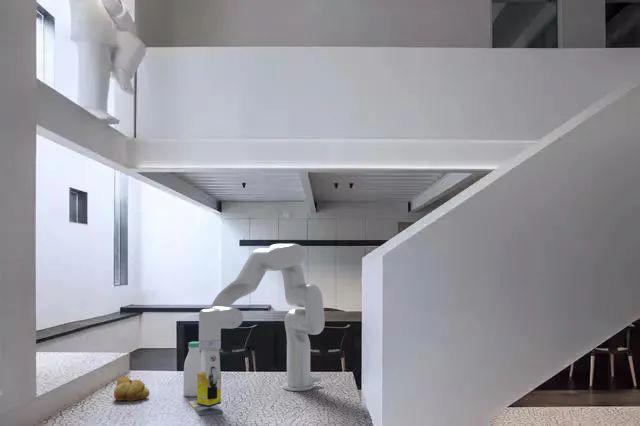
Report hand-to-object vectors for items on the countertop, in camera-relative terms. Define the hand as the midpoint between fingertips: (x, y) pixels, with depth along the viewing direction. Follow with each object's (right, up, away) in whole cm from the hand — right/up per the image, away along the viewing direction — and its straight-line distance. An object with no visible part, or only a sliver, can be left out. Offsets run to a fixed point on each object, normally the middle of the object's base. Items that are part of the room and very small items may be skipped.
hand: (209, 395), depth 191 cm
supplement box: (0, -3, 0) cm, 3 cm away
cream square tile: (-4, -6, +8) cm, 11 cm away
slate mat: (0, -5, -1) cm, 5 cm away
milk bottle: (-10, -7, +22) cm, 25 cm away
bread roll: (-32, -7, +15) cm, 36 cm away
